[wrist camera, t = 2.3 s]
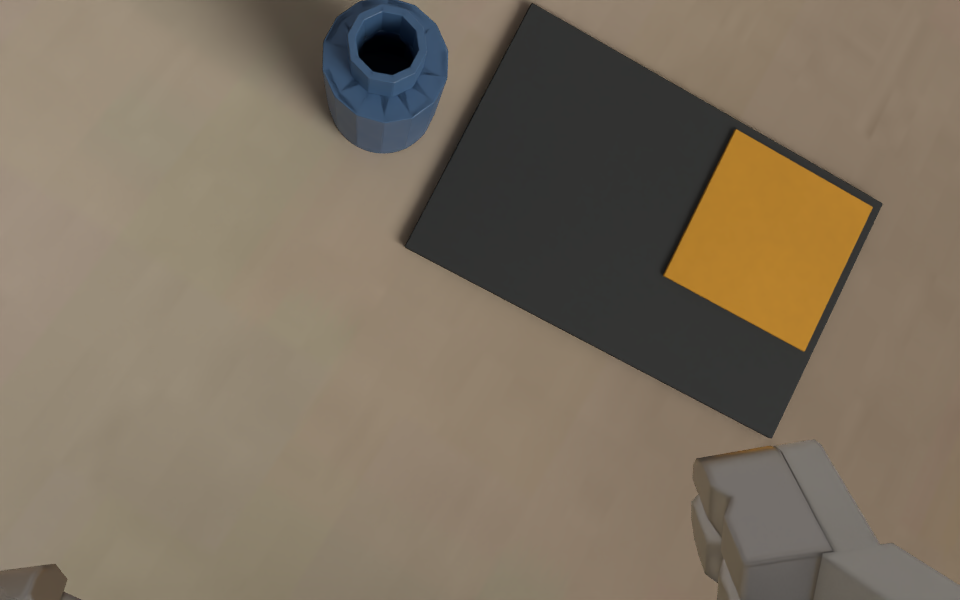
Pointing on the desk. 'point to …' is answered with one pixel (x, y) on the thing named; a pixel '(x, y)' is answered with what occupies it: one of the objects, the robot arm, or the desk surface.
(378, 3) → the vase
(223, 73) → the desk surface
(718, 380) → the desk mat
